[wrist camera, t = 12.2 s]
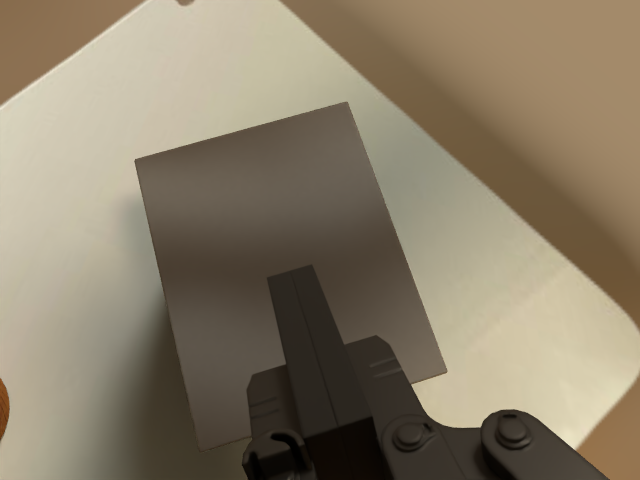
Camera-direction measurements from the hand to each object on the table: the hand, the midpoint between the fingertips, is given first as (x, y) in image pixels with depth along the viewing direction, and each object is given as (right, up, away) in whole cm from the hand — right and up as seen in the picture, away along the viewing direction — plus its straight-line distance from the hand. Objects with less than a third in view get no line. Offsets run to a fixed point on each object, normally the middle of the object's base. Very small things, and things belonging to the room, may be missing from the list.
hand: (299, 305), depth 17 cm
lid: (-1, +1, +7) cm, 7 cm away
